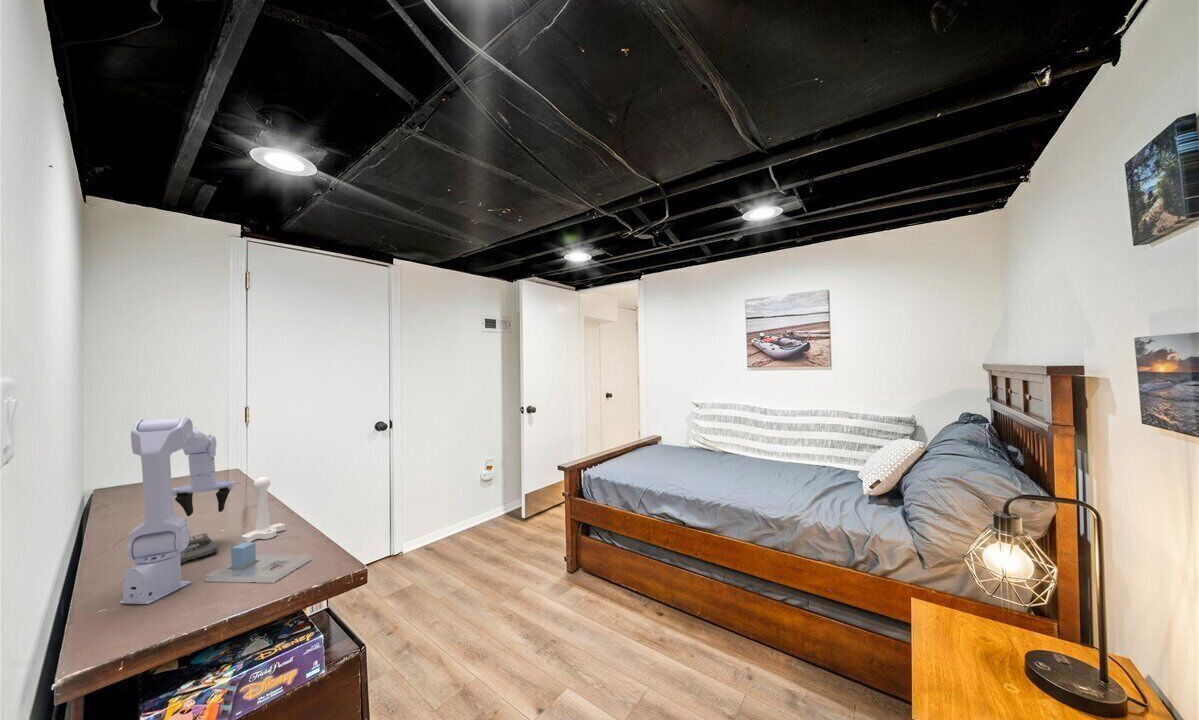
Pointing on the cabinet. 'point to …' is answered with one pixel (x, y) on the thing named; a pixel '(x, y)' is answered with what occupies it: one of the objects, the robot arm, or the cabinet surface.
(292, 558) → the panel
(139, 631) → the cabinet surface
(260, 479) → the joystick
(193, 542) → the graphics card
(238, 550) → the plug
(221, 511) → the robot arm
